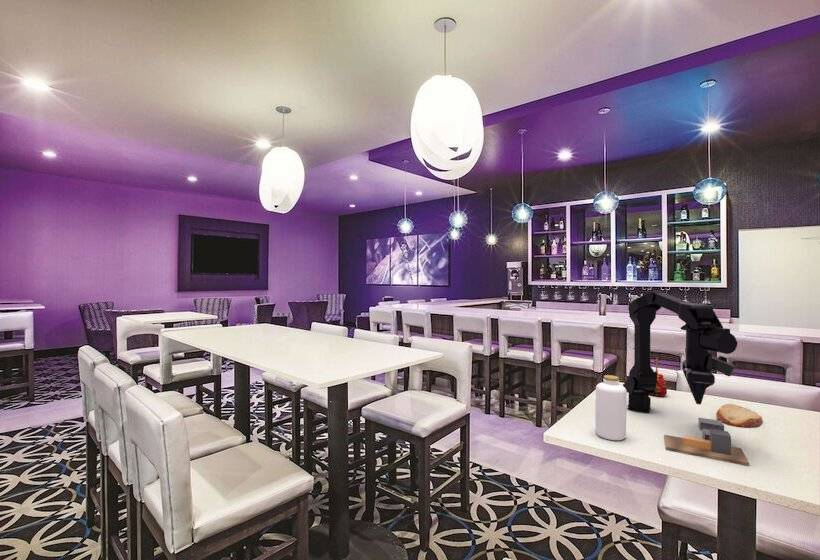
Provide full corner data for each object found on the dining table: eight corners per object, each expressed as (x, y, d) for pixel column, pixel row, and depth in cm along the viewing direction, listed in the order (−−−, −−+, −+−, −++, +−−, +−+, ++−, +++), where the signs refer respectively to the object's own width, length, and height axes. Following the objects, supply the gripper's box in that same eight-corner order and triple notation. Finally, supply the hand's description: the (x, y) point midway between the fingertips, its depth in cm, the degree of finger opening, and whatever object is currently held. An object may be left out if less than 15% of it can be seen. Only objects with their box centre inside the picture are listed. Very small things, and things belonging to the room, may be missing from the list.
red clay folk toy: (643, 395, 161) (644, 358, 161) (647, 391, 166) (647, 355, 166) (665, 398, 156) (666, 361, 156) (668, 394, 161) (669, 358, 161)
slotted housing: (704, 442, 115) (704, 434, 115) (698, 424, 129) (698, 417, 129) (730, 447, 112) (731, 438, 112) (721, 428, 126) (721, 420, 126)
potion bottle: (614, 443, 114) (615, 381, 114) (589, 433, 121) (590, 375, 121) (632, 438, 118) (633, 378, 118) (607, 428, 125) (607, 372, 125)
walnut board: (665, 449, 110) (665, 446, 110) (664, 437, 119) (664, 434, 119) (749, 466, 101) (749, 463, 101) (741, 451, 110) (741, 448, 110)
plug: (685, 446, 110) (685, 429, 110) (683, 441, 114) (683, 424, 114) (730, 455, 105) (730, 436, 105) (727, 449, 109) (727, 431, 109)
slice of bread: (737, 409, 145) (738, 399, 145) (786, 428, 127) (786, 417, 127) (690, 410, 144) (690, 399, 144) (733, 429, 127) (733, 417, 126)
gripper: (739, 355, 104) (738, 414, 105) (726, 345, 120) (725, 396, 121) (687, 351, 110) (686, 407, 110) (682, 341, 126) (681, 390, 126)
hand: (696, 399), depth 117 cm, fingers open, 9 cm apart
